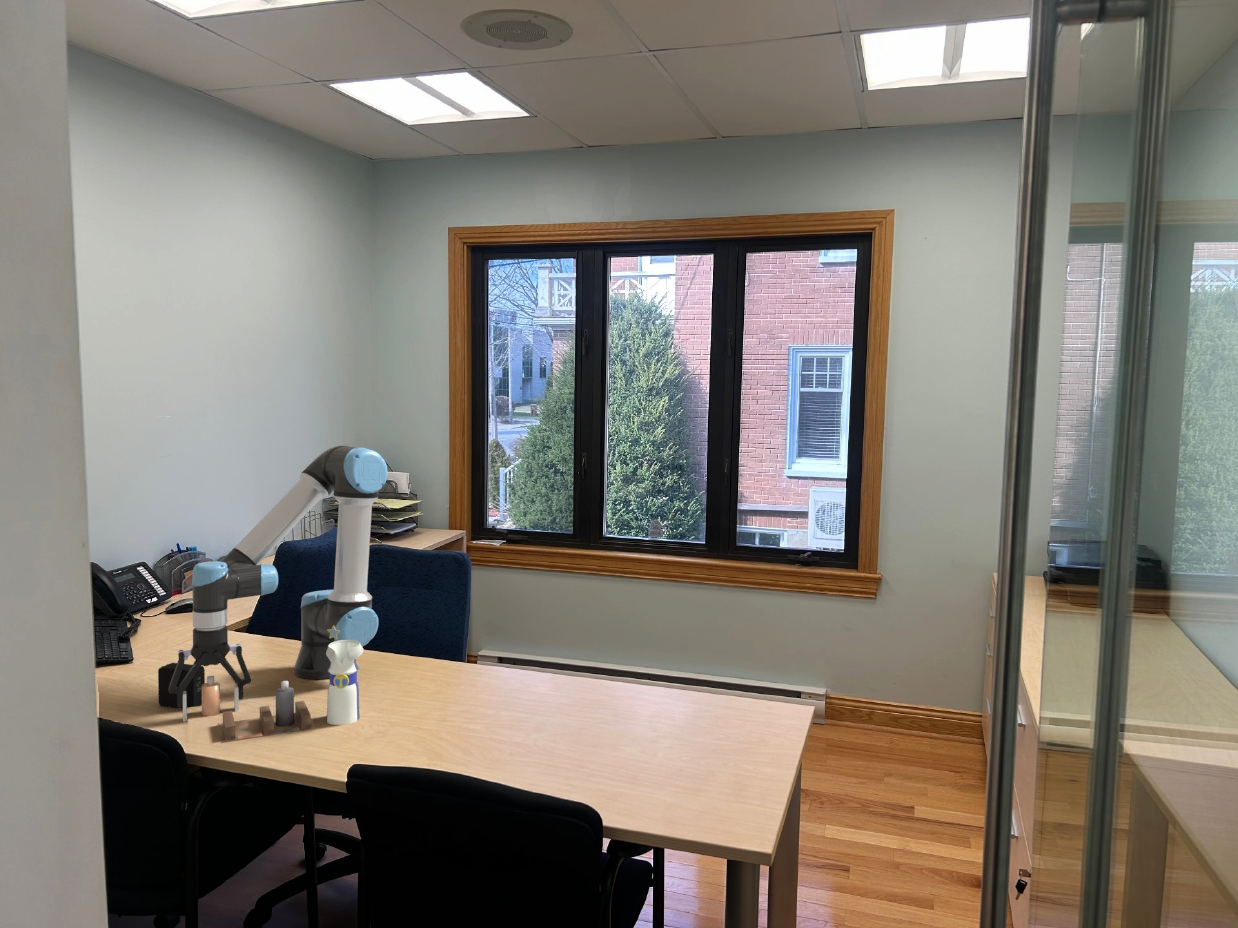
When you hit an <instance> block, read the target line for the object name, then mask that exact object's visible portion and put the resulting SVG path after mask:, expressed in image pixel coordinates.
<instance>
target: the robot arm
mask: <svg viewBox="0 0 1238 928" xmlns="http://www.w3.org/2000/svg"><path fill="white" fill-rule="evenodd" d="M388 474H389V473H388V466H387V463H386V461H385V459H384V458H383V457H382V456H381V454H379V452H377V451H375V450H372V449H368V448H367V447H362V446H361V447H358V446H357V447H355V446H349V445H337V446H333V447H330V448H328V449H326V450H325V451H324V452H322V453H321V454H320V455H318V457H316V458H315V459H314V460H313V461H312V462H311V463H310V464H309V465H307V466H306V467H305V469H303V470H302V472H300V474H299V480H298V481H297V482H296V483H295V484H294V485H293V487H291V489H289V490H288V492H286V493H285V495H284V496H282V498H281V499H279V501H278V502H276V504H275V505H274V506H273V507H272V508H270V510H269V511H268V512H267V513H266V514H265V515H264V516H263V517H262V519H260V521H258V522H257V523H256V525H254V526H253V528H251V530H249V532H247V534H246V535H245V536H244V537H243V538H242V539H241V540H240V541H239V542H238V543H237V544H236V545H235V546H234V547H233V548H232V549H231V550H230V551H229V553H227V554H225V555H220V556H218V557H216V558H214V559H213V560H212V561H204V562H199V563H197V564H195V565H194V566H193V569H192V574H191V575H192V577H191V578H192V579H191V586H192V627H193V629H192V647H191V649H188V650H183V649H180V650H178V653H177V654H178V660H177V662H176V663H177V665H176V668H175V671H174V674H173V677H172V679H171V682H170V685H169V693H175V694H177V706H178V708H180V707H183V709H182V722H183V723H185V722H187V721H188V720H187V719H188V718H187V717H188V715H187V714H188V713H187V710H188V708H187V703H186V691H185V689H186V688H187V686H188V685H189V683H190V682H191V680H192V678H193V677H194V675H195V674H196V672H197V671H198V670H199V669H200V667H201V666H203V667H208V666H217V665H219V664H220V665H221V666H222V667H223V668H224V669H225V671H226V672H227V674H228V675H229V676H230V677H231V679H233V681H234V682H235V684H234V685H233V687H234V688H233V694H234V695H233V696H234V697H233V698H234V700H233V703H234V705H233V707H234V712H235V713H236V712H239V708H240V707H239V706H240V705H239V704H240V703H239V702H240V701H239V700H243V699H244V686H245V685H247V684H248V685H249V684H250V683H252V678H251V675H250V672H249V670H248V667H247V664H246V662H245V660H244V658H243V648H242V645H241V643H236V645H230V644H229V643H228V640H229V639H228V638H229V637H228V634H229V633H228V631H229V630H228V628H229V627H228V626H227V624H228V601H229V600H236V599H243V598H249V597H251V598H252V597H256V596H257V597H258V596H264V595H267V594H272V593H274V592H275V591H276V590H277V589H278V585H279V573H278V570H277V568H276V566H274V565H273V564H271V563H267V564H266V563H264V564H263V563H261V562H262V561H263V560H264V559H265V558H266V557H267V556H268V555H269V553H271V552H272V550H274V548H276V546H277V545H278V544H279V543H280V542H281V541H282V540H283V539H284V538H285V537H286V536H287V535H288V534H289V533H290V531H292V530H293V528H295V526H296V525H297V524H298V523H299V522H300V521H301V520H302V519H303V518H304V516H306V515H307V514H308V512H310V511H311V509H312V508H314V507H315V505H316V504H317V503H318V502H319V501H320V500H321V499H322V498H323V499H324V498H328V497H329V496H330V495H331V494H332V493H333V498H334V499H336V501H337V503H338V513H337V515H338V518H337V528H336V529H337V532H336V550H335V551H336V552H335V566H334V582H333V583H334V585H333V589H326V590H325V589H323V590H316V591H311V592H307V593H305V594H303V596H302V597H301V604H300V613H301V615H300V617H301V619H300V620H301V624H300V625H301V626H300V628H301V629H300V631H301V633H300V634H301V642H300V643H301V645H300V648H299V651H298V654H297V658H296V660H295V663H294V674H295V676H297V677H298V678H301V679H307V680H325V679H330V672H329V671H328V669H329V667H330V665H331V662H330V660H329V658H328V657H327V655H326V652H327V649H328V645H329V644H330V643H332V642H335V641H340V640H355V641H358V642H360V644H361V646H362V647H364V646H366V645H367V644H369V642H370V641H371V640H373V638H374V637H375V635H376V634H377V632H378V628H379V617H378V615H377V614H376V612H375V611H374V609H372V608H373V607H372V605H373V596H372V595H371V594H370V592H368V575H369V561H370V559H369V558H370V544H371V543H370V541H371V530H372V529H371V528H372V526H371V524H372V512H373V511H372V510H373V508H372V507H373V504H374V503H375V502H376V501H377V500H378V499H379V491H381V489H382V488H383V486H384V485H385V484H386V482H387V479H388ZM333 625H334V626H335V629H336V630H339V631H340V632H339V633H338V634H337V639H336V638H334V637H333V638H330V639H329V637H330V633H329V632H328V631H327V630H328V629H332V627H333ZM230 651H231V652H232V654H233V655H234V656H236V660H237V662H238V665H239V667H240V670H241V672H242V675H243V678H241V677H240V675H239V674H238V673H237V672H236V670H235V668H234V667H233V666H232V665H231V663H229V661H228V659H227V657H226V656H227V655H228V654H229V652H230ZM190 656H192V657H193V659H195V660H194V662H193V663H192V664H191V665H192V667H191V669H190V670H189V672H188V673H187V675H186V676H185V678H184V679H183V681H182V682H181V684H180V685H179V687H176V685H177V682H178V680H179V677H180V674H181V671H182V668H183V666H184V664H185V661H188V659H189V657H190Z"/></svg>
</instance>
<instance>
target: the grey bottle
mask: <svg viewBox="0 0 1238 928" xmlns="http://www.w3.org/2000/svg"><path fill="white" fill-rule="evenodd" d="M294 713H295V688H293V687H291V686H289V681H288V680H283V681H281V682H280V688H277V689H276V690H275V715H276V725H277V726H281V727H284V726H289V725H292V724H293V723H294Z"/></svg>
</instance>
